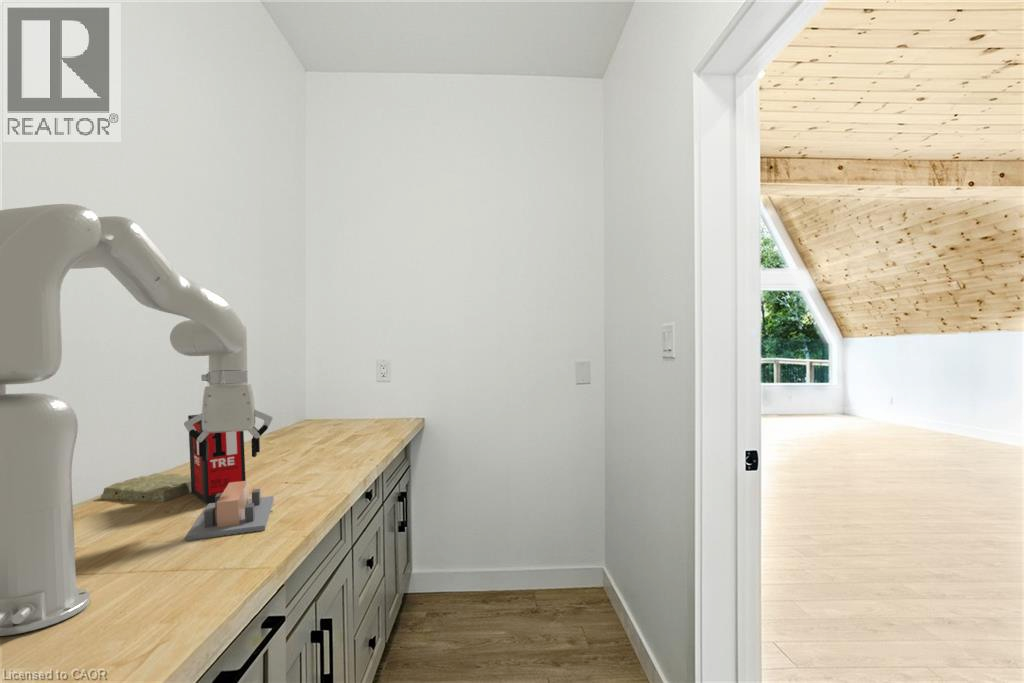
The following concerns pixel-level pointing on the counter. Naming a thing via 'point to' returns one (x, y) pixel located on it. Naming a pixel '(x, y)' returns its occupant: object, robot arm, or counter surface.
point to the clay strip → (232, 504)
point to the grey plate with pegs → (250, 522)
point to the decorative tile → (150, 488)
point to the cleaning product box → (216, 463)
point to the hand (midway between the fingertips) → (230, 458)
